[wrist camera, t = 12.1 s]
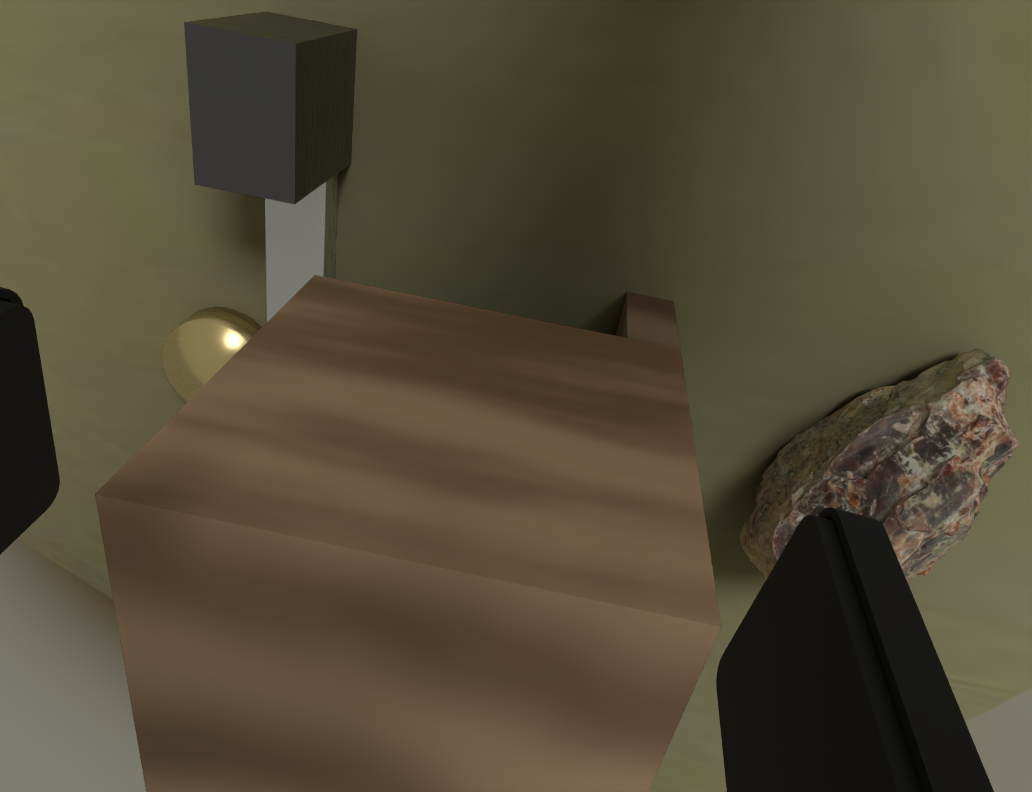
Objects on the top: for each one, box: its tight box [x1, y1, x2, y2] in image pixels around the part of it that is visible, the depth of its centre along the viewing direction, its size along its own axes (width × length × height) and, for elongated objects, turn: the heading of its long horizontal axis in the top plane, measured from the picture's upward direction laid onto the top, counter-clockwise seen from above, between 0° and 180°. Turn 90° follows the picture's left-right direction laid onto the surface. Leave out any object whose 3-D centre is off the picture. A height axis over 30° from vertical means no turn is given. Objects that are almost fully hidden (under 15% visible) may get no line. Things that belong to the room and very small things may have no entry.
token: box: [162, 307, 262, 402], centre depth 35 cm, size 5×5×2 cm
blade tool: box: [184, 12, 357, 322], centre depth 30 cm, size 20×4×6 cm, turn 171°
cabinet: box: [95, 275, 721, 792], centre depth 28 cm, size 18×14×18 cm
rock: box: [739, 348, 1019, 581], centre depth 31 cm, size 7×11×10 cm
